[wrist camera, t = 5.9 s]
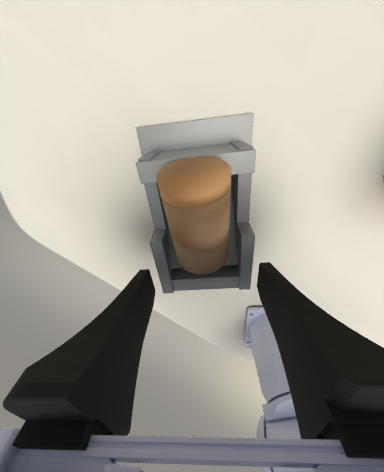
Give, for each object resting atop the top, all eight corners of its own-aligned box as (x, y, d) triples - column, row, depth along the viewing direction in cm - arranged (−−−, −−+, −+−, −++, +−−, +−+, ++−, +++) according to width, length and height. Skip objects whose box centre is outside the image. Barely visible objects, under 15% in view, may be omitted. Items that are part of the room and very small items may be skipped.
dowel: (225, 233, 14) (227, 153, 10) (230, 273, 12) (236, 187, 7) (179, 236, 14) (162, 160, 10) (174, 275, 12) (149, 194, 8)
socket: (243, 256, 20) (259, 302, 15) (167, 260, 21) (157, 306, 16) (251, 113, 13) (284, 109, 8) (138, 127, 14) (102, 132, 9)
